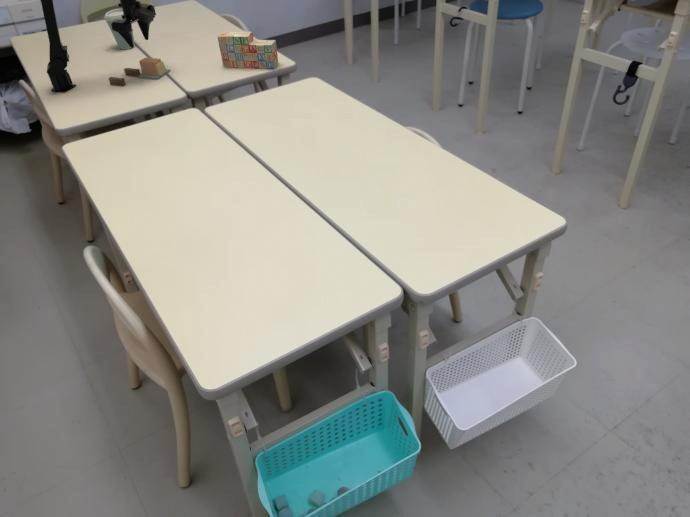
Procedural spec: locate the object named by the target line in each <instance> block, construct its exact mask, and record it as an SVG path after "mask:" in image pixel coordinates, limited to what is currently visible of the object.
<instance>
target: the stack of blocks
mask: <svg viewBox="0 0 690 517" xmlns="http://www.w3.org/2000/svg"><path fill="white" fill-rule="evenodd" d="M217 42H218V46H219V52H220V57H221V61H222V67H223V68H225V69H227V68H229V69H257V70H258V69H260V70H275V69H276V67H277V66H278V65H279V57H278V49H277V41H276V39H254V34H253V31H224V30H223V31H222V32H221V33H220V34H219V35H218V36H217Z"/></svg>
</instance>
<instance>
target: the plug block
mask: <svg viewBox="0 0 690 517" xmlns="http://www.w3.org/2000/svg"><path fill="white" fill-rule="evenodd" d="M138 62H139V66H140V68H141V72H142V73H143V74H148V75H159V76H160V75H162V74H164V73H165V72H166V70H165V69H166V66H165V63H164V61H162V60H161V58H153V57H143V58H142V59H140V60H139V61H138ZM142 73H141V74H142Z"/></svg>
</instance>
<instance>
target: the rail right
mask: <svg viewBox="0 0 690 517" xmlns="http://www.w3.org/2000/svg"><path fill="white" fill-rule="evenodd" d="M123 70H124V73H125V76H126V77H137V78H138V76H139V75H141V74H142V73H141V71H140V69H139V68H134V67H133V68H132V67H125V68H124V69H123Z"/></svg>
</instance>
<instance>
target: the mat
mask: <svg viewBox="0 0 690 517" xmlns="http://www.w3.org/2000/svg"><path fill="white" fill-rule="evenodd" d="M165 70H166V72H165V73H164V74H162V75H160V76H159V75H148V74H143V73H140V74H141V75H139V76H138V77H137V78H138V79H148V80H157V81H158V80H160V79H161V78H163V77H164V76H166V75H167V74H168V73H170V72H172V71H171V69H169V68H167V69H166V68H165Z"/></svg>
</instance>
